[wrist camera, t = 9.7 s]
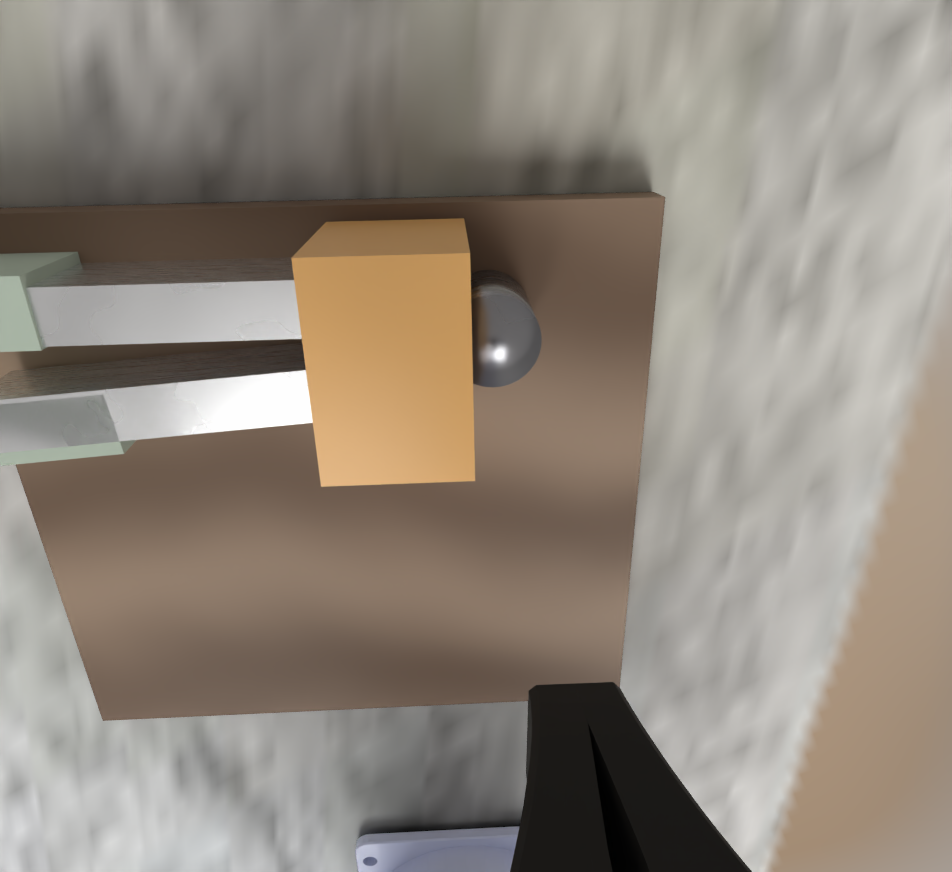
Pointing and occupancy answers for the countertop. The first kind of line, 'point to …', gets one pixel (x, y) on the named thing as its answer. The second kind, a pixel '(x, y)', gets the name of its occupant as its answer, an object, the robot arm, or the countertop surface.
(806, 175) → the countertop surface
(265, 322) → the tong board
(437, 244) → the collar
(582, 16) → the countertop surface
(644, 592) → the countertop surface
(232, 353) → the tong arm
